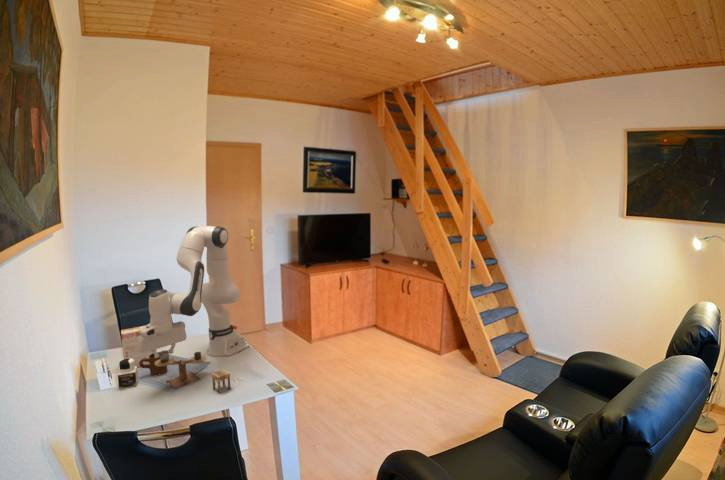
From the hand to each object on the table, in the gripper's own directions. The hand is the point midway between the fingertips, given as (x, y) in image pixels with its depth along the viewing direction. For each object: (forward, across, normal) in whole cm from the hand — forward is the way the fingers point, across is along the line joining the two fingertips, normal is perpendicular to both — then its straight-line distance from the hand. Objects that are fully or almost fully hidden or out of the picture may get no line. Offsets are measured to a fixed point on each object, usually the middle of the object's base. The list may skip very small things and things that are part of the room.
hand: (164, 355), depth 181 cm
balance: (+15, -8, 0) cm, 17 cm away
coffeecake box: (+16, -2, -36) cm, 39 cm away
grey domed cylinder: (+3, 0, 0) cm, 3 cm away
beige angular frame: (+16, -29, +15) cm, 36 cm away
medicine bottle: (+16, +10, -17) cm, 25 cm away
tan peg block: (+15, -16, +21) cm, 30 cm away
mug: (+16, -2, -19) cm, 25 cm away
